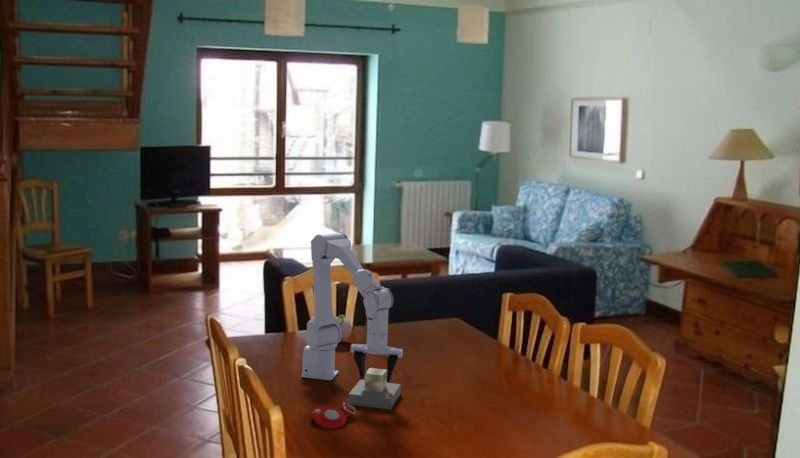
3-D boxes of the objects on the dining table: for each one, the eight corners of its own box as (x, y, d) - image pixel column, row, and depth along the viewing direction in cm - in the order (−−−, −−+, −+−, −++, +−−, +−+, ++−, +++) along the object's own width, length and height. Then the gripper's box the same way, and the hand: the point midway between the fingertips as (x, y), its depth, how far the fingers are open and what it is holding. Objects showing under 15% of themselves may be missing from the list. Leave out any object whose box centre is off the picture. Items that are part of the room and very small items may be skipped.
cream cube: (364, 390, 223) (365, 373, 222) (369, 384, 228) (369, 367, 227) (381, 392, 222) (382, 375, 221) (386, 386, 227) (386, 369, 226)
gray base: (348, 404, 221) (348, 393, 220) (360, 389, 232) (360, 379, 232) (390, 409, 218) (391, 398, 218) (400, 394, 230) (400, 384, 229)
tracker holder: (339, 429, 202) (304, 413, 205) (336, 442, 204) (302, 427, 207) (360, 403, 212) (327, 389, 215) (357, 416, 214) (325, 401, 217)
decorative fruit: (327, 338, 281) (327, 310, 279) (350, 338, 282) (351, 310, 280) (327, 346, 272) (328, 317, 270) (351, 346, 273) (352, 318, 271)
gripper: (348, 333, 220) (346, 380, 222) (399, 338, 217) (397, 386, 219) (355, 326, 227) (353, 372, 229) (405, 331, 224) (403, 378, 226)
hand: (375, 379), depth 224 cm, fingers open, 7 cm apart
